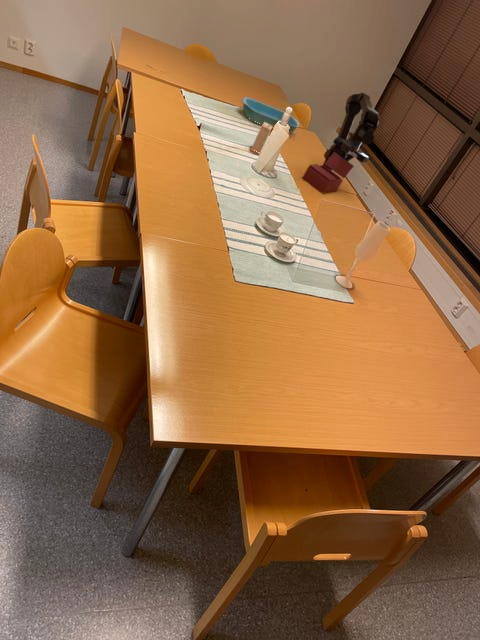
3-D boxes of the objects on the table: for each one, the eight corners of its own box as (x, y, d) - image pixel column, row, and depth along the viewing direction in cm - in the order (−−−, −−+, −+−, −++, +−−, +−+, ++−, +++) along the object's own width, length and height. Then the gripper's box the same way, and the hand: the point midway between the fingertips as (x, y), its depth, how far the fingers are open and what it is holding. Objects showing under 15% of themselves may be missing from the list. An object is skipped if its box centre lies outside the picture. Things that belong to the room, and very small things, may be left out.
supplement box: (259, 155, 228) (271, 129, 220) (250, 150, 228) (261, 125, 220) (261, 150, 235) (273, 125, 227) (252, 146, 234) (264, 121, 227)
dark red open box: (317, 176, 241) (324, 163, 237) (336, 191, 237) (344, 178, 233) (302, 177, 230) (309, 164, 226) (322, 193, 226) (329, 179, 222)
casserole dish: (242, 120, 260) (247, 107, 256) (234, 104, 275) (239, 92, 271) (298, 141, 275) (304, 129, 271) (288, 125, 291) (293, 114, 287)
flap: (324, 163, 237) (324, 164, 237) (343, 178, 233) (344, 178, 233) (334, 151, 235) (334, 151, 236) (353, 165, 231) (354, 166, 231)
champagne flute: (349, 290, 163) (389, 234, 149) (333, 279, 165) (372, 222, 151) (354, 284, 169) (394, 229, 155) (339, 273, 170) (377, 217, 156)
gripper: (336, 125, 225) (320, 155, 234) (367, 146, 219) (349, 176, 228) (346, 126, 233) (330, 155, 242) (376, 146, 227) (358, 175, 236)
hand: (341, 165), depth 237 cm, fingers closed, pressing on flap
